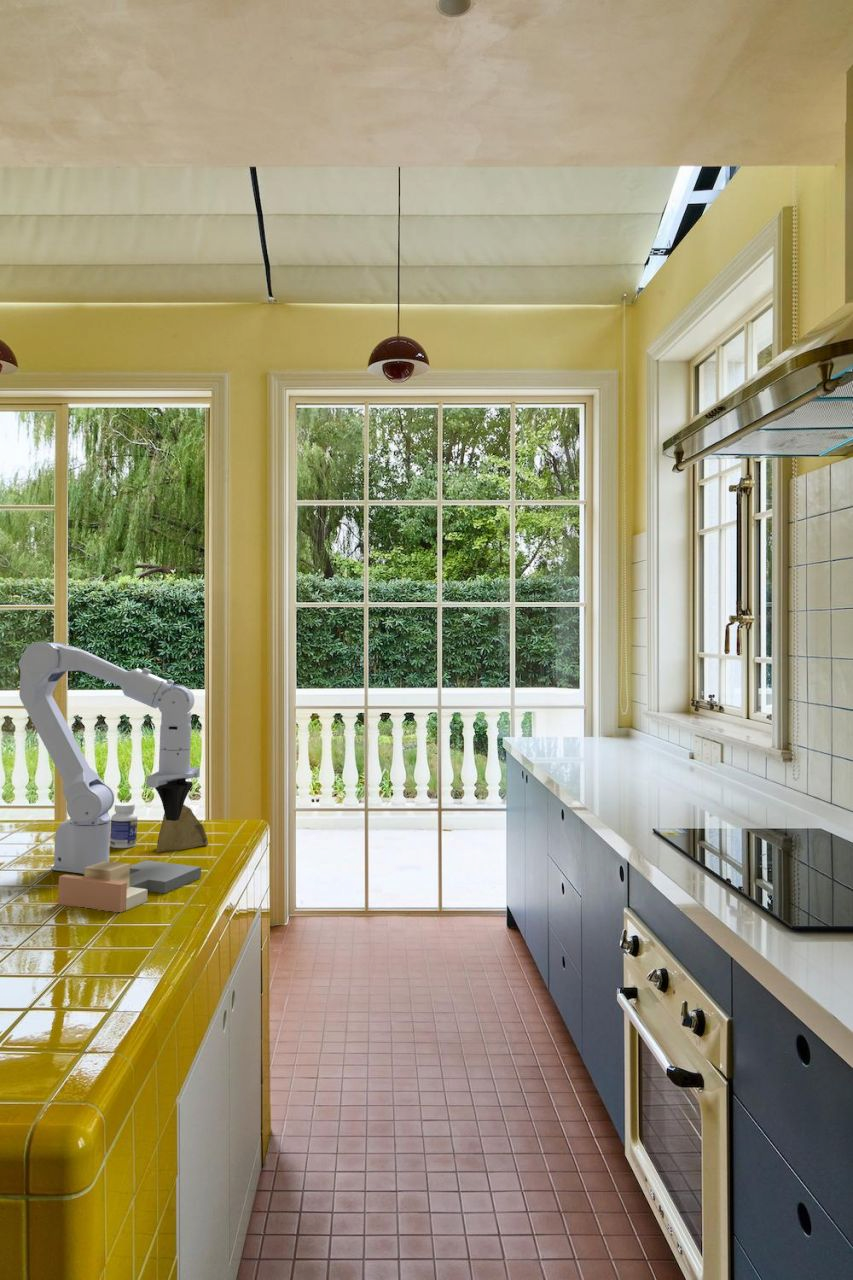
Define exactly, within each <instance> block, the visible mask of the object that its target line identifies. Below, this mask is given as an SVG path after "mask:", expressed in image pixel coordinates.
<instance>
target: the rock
mask: <svg viewBox="0 0 853 1280" xmlns="http://www.w3.org/2000/svg"><path fill="white" fill-rule="evenodd" d="M160 825H161V826H160V829H159V832H158V838H157V844H156V845H157V846H156V852H157V853H161V852H168V851H169V852H173V851H181V850H187V849H191V848H192V849H193V848H196V847H202V846H207V845H209V840H208V839H209V838H208V836H207V833H206V832H205V831H206V830H205V828H204V826H203V824H202V823H201V822H200V821H199V820H198V818H197V816H196V815H195V814H194V812H193V811H192V809H191V808H190V807H188V806H187V805H185V804H183V808H182V811H181V815H180V818H179V820H176V821H171V820H166V817H165V812H164V814H163V817H162V821H161V824H160Z"/></svg>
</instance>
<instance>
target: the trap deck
mask: <svg viewBox="0 0 853 1280" xmlns="http://www.w3.org/2000/svg"><path fill="white" fill-rule="evenodd" d="M201 877H202V867H201V866H195V865H188V864H179V863H170V862H164V861H157V860H147V859H146V860H142V861H141V862H138V863H135V864H131V865H130V881H129V888H128V889H127V882H120V881H112V880H105V879H97V878H89V877H84V876H81V875H73V874H66V873H65V874H61V875H60V876H58V891H57V892H58V897H57V905H59V906H60V905H61V906H68V907H74V906H75V907H74V908H80V907H85V908H84V909H87V908H93V909H92V910H94V909H98V910H97V911H101V910H105V911H104V912H108V911H113V912H112V913H115V912H122V913H124V912H126V911H128V910H130V909H133V908H135V907H137V906H140V905H141V904H142V905H143V904H144V903H146V902H148V892H152V893H159V894H167V893H169V892H172V891H174V890H177V889H178V888H181V887H183V886H186V885H188V884H190V883H192V882H195V881H197V880H199V879H201ZM76 906H78V907H76ZM125 910H126V911H125ZM123 911H124V912H123Z"/></svg>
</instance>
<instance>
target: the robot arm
mask: <svg viewBox="0 0 853 1280" xmlns="http://www.w3.org/2000/svg"><path fill="white" fill-rule="evenodd" d="M18 666H19V671H20V677H19V692H18V693H19V698H20V701H21V703H22V705H23V707H24V708H25V711H26V712H27V714H28V717H29V719H30V720H31V722H32V724H33V726H34V727H35V730H36V731H37V734H38V735H39V737H40V739H41V741H42V743H43V745H44V748H45V749H46V750H47V753H48V755H49V756H50V758H51V761H52V762H53V764H54V766H55V768H56V769H57V771H58V773H59V776H60V777H61V780H62V794H63V796H64V798H65V801H66V812H67V814H68V817H69V819H66V820H64V821H62V822H61V823H60V824H59V825H58V827H57V829H56V831H55V834H54V835H55V836H54V858H53V859H54V860H53V866H51V867H50V870H53V871H59V872H67V873H75V874H83V875H85V867H88V866H91V865H94V864H97V863H100V862H103V861H110V848H111V846H110V835H111V816H110V814H109V811H110V810H111V809H112V807H113V806H114V803H115V794H114V791H113V789H112V788H111V787H110V785H107V784H106V783H105V782H104V781H102V779H101V777H100V775H99V774H98V773H97V772H96V771H95V770H93V768H91V767H90V764H89V763H88V761H87V760H86V757H85V755H84V753H83V751H82V750H81V748H80V745H79V744H78V741H77V740H76V738H75V737H74V734H73V732H72V731H71V728H70V727H69V725H68V723H67V720H66V719H65V717H64V715H63V714H62V711H61V710H60V707H59V706H58V704H57V702H56V700H55V698H54V696H53V694H54V691H55V689H56V687H57V684H58V682H59V681H60V679H61V678H62V677H63V676H65V674H66V673H67V672H72V671H73V672H77V671H81V672H84V673H86V674H89V675H91V676H94V677H96V678H99V679H102V680H104V681H106V682H108V683H112V684H114V685H116V686H119V687H120V688H121V690H122V693H123V695H124V696H125V697H127V698H130V699H131V700H134V701H137V702H139V703H142V704H143V705H147V706H148V707H151V708H153V709H157V708H158V710H159V712H160V713H161V717H160V719H161V720H160V721H161V722H160V725H159V726H160V727H159V729H160V730H159V752H158V753H159V755H158V757H159V758H158V771H157V772H155V773H152V774H150V775H147V776H146V780H145V781H146V783H145V784H146V785H145V786H146V787H147V788H155V790H156V792H157V794H158V796H159V797H160V801H161V804H162V806H163V811H164V813H165V817H166V820H171V821H176V820H179V818H180V815H181V811H182V808H183V805H185V801H186V799H187V796H188V794H189V792H190V791H191V789H192V787H193V782H192V781H189V780H188V779H193V778H195V779H196V778H197V779H198V778H200V773H201V771H200V770H201V768H200V767H196V766H191V747H192V745H191V744H192V743H191V742H192V712H191V710H192V709H193V707H194V706H195V705H194V704H195V697H194V694H193V692H192V690H191V689H190V688H188V687H186V686H185V685H183V684H177V685H174V683H175V680H173V679H170V678H169V679H167V680H166V679H164V678H162V677H159V676H157V675H155V674H153V673H152V670H151V669H149V668H147V667H143V668H142V669H141V668H133V669H131V670H126V669H124V668H123V667H120V666H118V665H116V664H114V663H112V662H110V661H107V660H106V659H104V658H102V657H99V656H98V655H95V654H93V653H90V652H89V651H87V650H85V649H81V648H78V647H76V646H70V645H67V644H65V643H64V642H63V643H62V642H59V641H53V642H46V641H35V642H33V643H31V644H29V645H28V646H27V647H26V648H25V650H24V651H23V653H22V655H21V657H20V659H19V661H18Z"/></svg>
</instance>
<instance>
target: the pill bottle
mask: <svg viewBox="0 0 853 1280" xmlns="http://www.w3.org/2000/svg"><path fill="white" fill-rule="evenodd" d="M135 806H136V805H135V803H134V802H117V803H115V804H114V812H115V813H114V814H113V815H111V816H110V818H111V820H110V821H111V822H110V848H113V849H129V848H130V849H131V848H134V847H135V846H137V839H138V838H137V835H138V834H137V832H138V815H137V814H136V813H135V812H134V811H135V809H136V808H135Z"/></svg>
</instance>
